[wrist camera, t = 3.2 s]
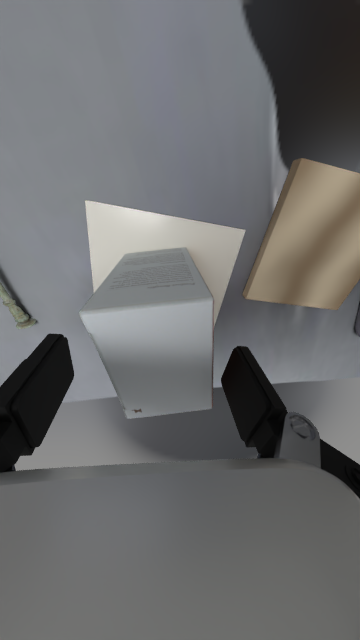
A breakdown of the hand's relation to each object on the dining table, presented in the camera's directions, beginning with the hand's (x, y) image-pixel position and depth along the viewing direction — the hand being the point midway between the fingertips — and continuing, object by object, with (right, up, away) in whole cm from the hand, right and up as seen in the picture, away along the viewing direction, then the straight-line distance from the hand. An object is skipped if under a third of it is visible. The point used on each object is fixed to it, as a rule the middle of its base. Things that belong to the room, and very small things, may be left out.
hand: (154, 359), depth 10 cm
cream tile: (0, +5, +8) cm, 9 cm away
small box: (0, +5, +8) cm, 9 cm away
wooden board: (+14, +9, +7) cm, 18 cm away
